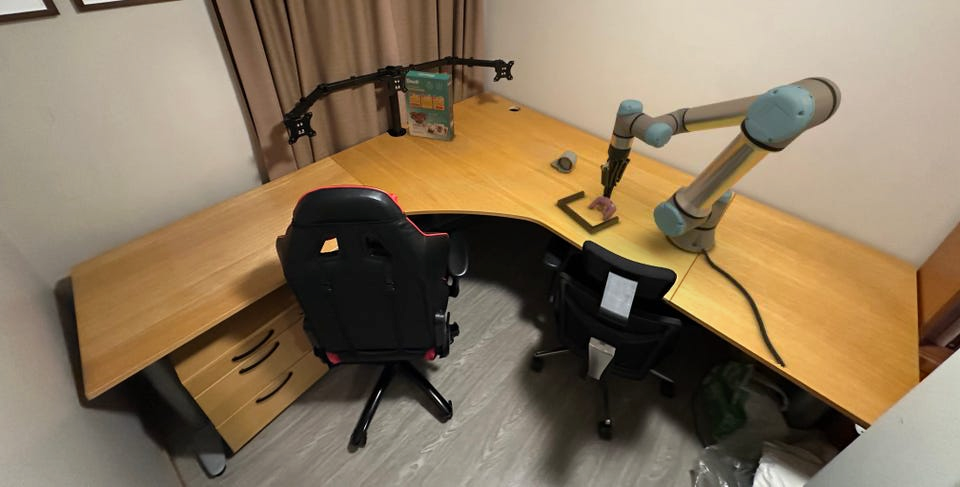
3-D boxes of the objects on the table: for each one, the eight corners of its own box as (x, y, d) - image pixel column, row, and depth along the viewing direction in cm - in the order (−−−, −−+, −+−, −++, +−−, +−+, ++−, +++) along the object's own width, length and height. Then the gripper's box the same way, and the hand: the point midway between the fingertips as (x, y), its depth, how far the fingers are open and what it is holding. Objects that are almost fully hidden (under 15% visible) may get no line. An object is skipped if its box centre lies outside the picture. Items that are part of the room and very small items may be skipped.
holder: (617, 222, 150) (619, 217, 149) (591, 234, 145) (592, 229, 144) (581, 195, 163) (583, 190, 162) (556, 205, 158) (557, 200, 157)
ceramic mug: (577, 165, 180) (579, 150, 175) (571, 174, 175) (573, 159, 170) (554, 160, 184) (556, 145, 179) (548, 168, 179) (550, 153, 173)
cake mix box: (454, 135, 202) (451, 75, 181) (450, 140, 197) (447, 79, 177) (414, 129, 206) (407, 70, 186) (410, 134, 202) (402, 74, 182)
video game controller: (611, 221, 153) (621, 206, 150) (604, 220, 150) (614, 205, 147) (594, 208, 160) (603, 193, 156) (587, 206, 157) (596, 191, 154)
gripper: (626, 136, 144) (611, 189, 160) (599, 144, 140) (586, 198, 156) (641, 144, 140) (625, 198, 156) (614, 154, 135) (600, 208, 151)
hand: (606, 198), depth 156 cm, fingers closed
